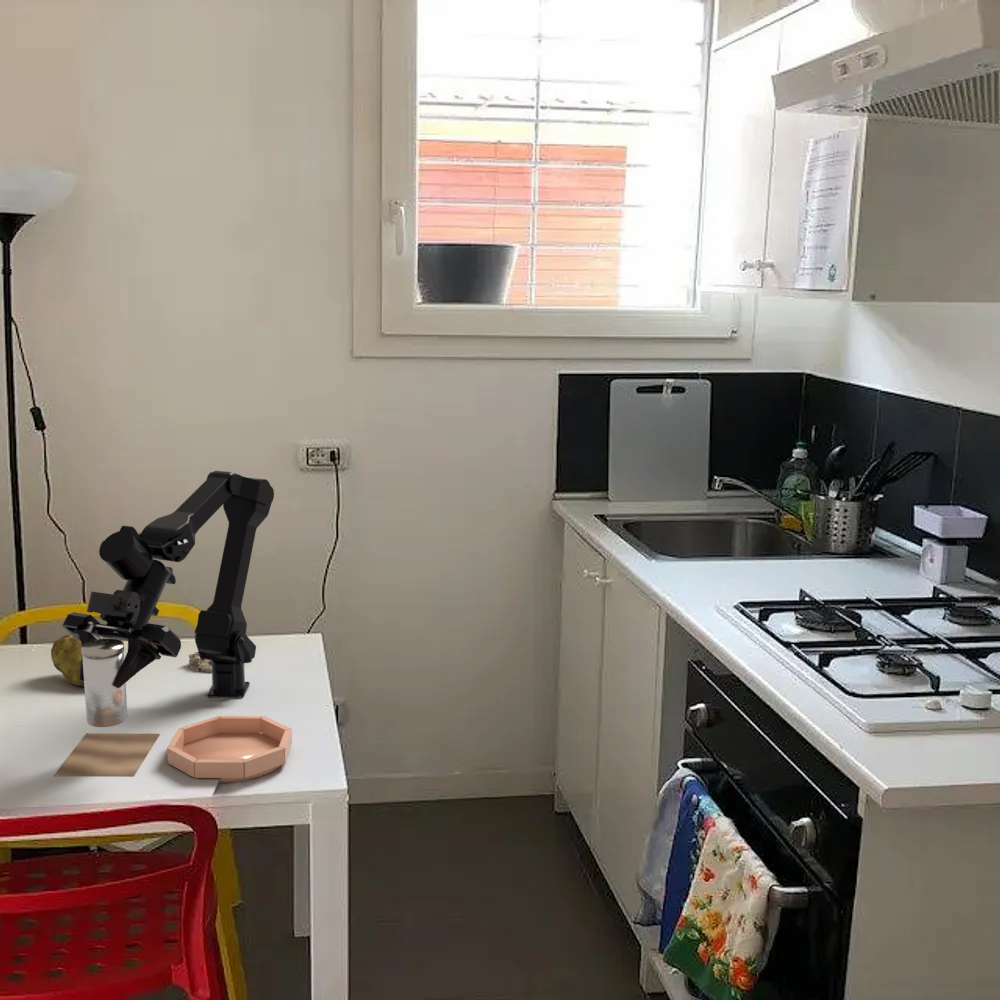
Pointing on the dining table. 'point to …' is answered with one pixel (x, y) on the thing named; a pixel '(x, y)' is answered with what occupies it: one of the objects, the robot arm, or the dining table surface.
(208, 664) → the mineral rock
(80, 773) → the walnut board
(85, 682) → the polished metal canister
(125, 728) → the dining table surface
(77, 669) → the potato
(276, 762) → the terracotta bowl
